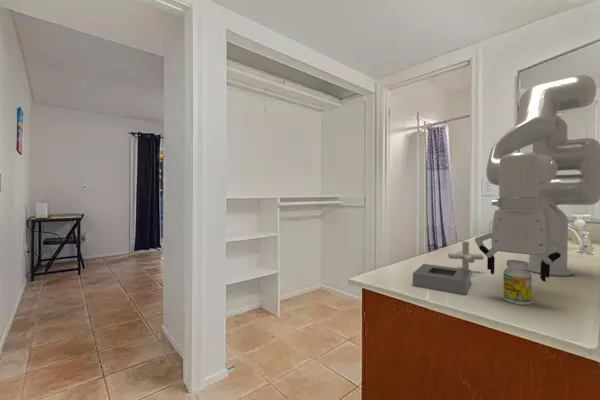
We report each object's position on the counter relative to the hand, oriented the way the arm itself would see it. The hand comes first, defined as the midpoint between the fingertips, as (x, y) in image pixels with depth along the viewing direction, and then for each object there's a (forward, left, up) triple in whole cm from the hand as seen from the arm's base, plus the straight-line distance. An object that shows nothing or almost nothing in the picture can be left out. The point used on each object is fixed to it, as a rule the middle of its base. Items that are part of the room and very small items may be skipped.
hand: (516, 276), depth 68 cm
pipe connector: (-23, -13, -6) cm, 27 cm away
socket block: (-5, -17, -6) cm, 18 cm away
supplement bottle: (-1, 0, -6) cm, 6 cm away
